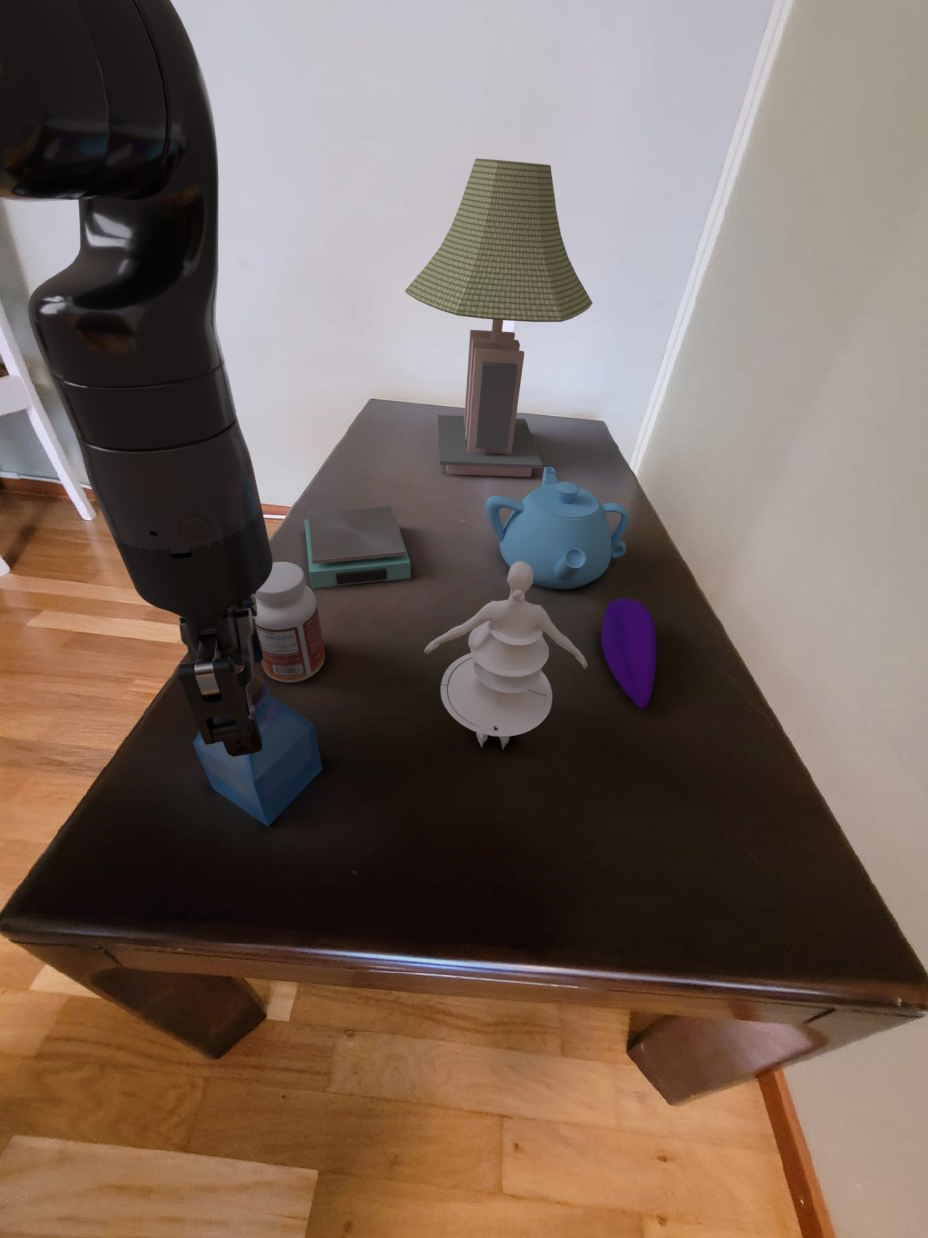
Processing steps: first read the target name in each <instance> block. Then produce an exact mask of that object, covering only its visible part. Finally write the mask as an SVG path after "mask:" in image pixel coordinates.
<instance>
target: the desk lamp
mask: <svg viewBox="0 0 928 1238" xmlns="http://www.w3.org/2000/svg"><path fill="white" fill-rule="evenodd" d="M464 188H465V189H464V192H463V194H462V198H461V201H460V204H459V206H458V208H457V210H456V214H455V216H454V217H453V221H452V223H451V226H450V228H449V230H448V232H447V233H446V235H445V237H444V239H443V240H442V243H441V244H440V245H439V248H438V249H437V250H436V252H435V253H434V254H433V256H432V257H431V259H430V260H429V261H428V262H427V264H426V265H425V266H424V267H423V268H422V270H421V271H420V272H419V274H417V275H416V277H415V278H414V279H413V280H412V282H410V284H409V285H408V286H407V287H406V289H405V290H404V292H405V293H406V294H407V295H409V296H410V297H412V298H413V299H415V300H416V301H418V302H420V303H422V304H425V305H427V306H429V307H431V308H434V309H437V310H438V311H441V312H445V313H448V314H451V315H455V316H457V317H458V316H459V317H466V318H475V319H483V320H492V324H491V326H492V327H491V330H481V329H469V339H468V340H469V342H468V343H469V344H468V354H467V355H468V356H467V357H468V358H467V372H466V386H465V389H466V390H465V399H464V416H463V415H447V414H446V415H445V414H437V433H438V451H439V453H438V454H439V465H440V466H446V474H447V475H460V476H461V475H462V476H463V475H465V476H489V477H491V476H493V477H494V476H496V477H517V478H518V477H519V478H532V472H533V469H540V470H541V469H543V468H544V467H543V466H544V464H543V462H542V458H541V457H540V454H539V451H538V448H537V446H536V443H535V440H534V439H533V435H532V432H531V430H530V427H529V425H528V422H527V420H526V418H517V414H518V406H519V398H520V390H521V384H522V376H523V368H524V359H525V351H524V350H520V347H521V343H520V342H519V341H520V340H519V339H516V338H515V337H516V333H515V332H514V331H503V326H504V321H511V322H527V323H528V322H529V323H562V322H565V321H569V320H571V319H574V318H576V317H577V316H579V315H581V314H584V313H585V312H587V311H588V310H589V309H590V308H591V307H592V305H593V301H592V299H591V297H590V296H589V293H588V292H587V290H586V289H585V286H584V285H583V283H582V282H581V279H580V278H579V277H578V275H577V273H576V270H575V268H574V266H573V265H572V262H571V260H570V258H569V255H568V252H567V248H566V246H565V242H564V241H563V240H564V239H563V237H562V233H561V228H560V227H561V226H560V222H559V216H558V212H557V204H556V196H555V189H554V180H553V174H552V166H551V165H550V164H545V163H534V162H525V161H524V162H523V161H512V160H502V159H492V158H491V159H489V158H488V159H487V158H475V159H474V162H473V164H472V168H471V171H470V174H469V177H468V180H467V183H466V185H465V187H464Z"/></svg>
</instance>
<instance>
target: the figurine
mask: <svg viewBox="0 0 928 1238" xmlns="http://www.w3.org/2000/svg"><path fill="white" fill-rule="evenodd" d="M506 583H507V584H508V585H509V588H510V592H509V597H508V599H504V600H490V602H488V603H486V604H484V606H482V608H480V610H479V611H478V612H477V613H476V614H474V615H473V616H472V617H471V618H469V619H468V620H466V621H465V622H464V623H461V624H460V625H457V626H454V627H452V628H451V629H449V630H448V631H446V632H445V633H443V634H442V635H440V636H437V637H436V638H434V640H431V641H430V642H429V643H428V644H427V645H425V646H426V647H425V648H424V651H423V653H426V655H429V654H430V653H431V652H432V651H434V650H436V649H437V648H438V647H439V646H440V644H442V643H446V642H448V641H451V640H455V639H457V638H460V637H462V636H464V635H466V634H467V633H469V632H470V634H469V636H468V639H467V640H468V641H467V646H468V647H469V649H470V653H466V654H465V655H462V656H461V657H458V658H457V659H456V660H454V661H453V662H452V663H451V664H450V665H448V667H447V668H446V669H445V671H444V673H443V676H442V678H441V682H440V698H441V701H442V703H443V706H444V708H445V709H446V711H447V712H448V713H449V715H450V716H451V717H452V718H453V719H454V720H455V721H457V722H458V723H459V724H460V725H462V726H463V727H465V728H467V729H468V730H471V731H472V732H475V733H476V738H477V740H478V742H479V744H480V748H483V746H484V743H485V742H486V741H487V740H488V738H489V737H488V736H491V737H498V738H499V740H500V744H501V749H502V750H504V749H505V747H506V745H507V744H508V743H509V741H510V737H512V736H513V737H514V736H518V735H522V734H525V733H527V732H529V731H531V730H533V729H535V728H536V727H538V726H539V725H541V724H542V723H543V722H544V720H545V719H546V718H547V717H548V715H549V714H550V712H551V709H552V704H553V690H552V687H551V684H550V681H549V679H548V677H547V676H546V675H545V673H544V672H543V670H542V668H543V667H544V666H545V664H546V663H547V661H548V659H549V656H550V649H549V645H548V644H547V642H546V640H545V638H544V636H543V634H544V633H545V634H546V635H547V636H549V637H550V638H551V639H552V640H553V641H554V642H555V643H556V644H557V645H558V646H559V647H561V648H562V649H564V650H565V651H567V652H568V653H571V654H572V655H574V659H576V660H577V661H578V663H580V664H581V666H582V668H583V669H586V668H588V663H587V660H586V658H585V656H584V655H583V654H582V652H581V650H579V649H578V648H577V647H576V645H574V644H573V642H572V641H571V640H570V638H569V637H567V636H566V635H564V634H563V633H562V632H560V630H559V629H558V628H557V627H556V625H555V624H554V623H553V621H552V620H551V618H550V616H549V615H548V612H547V611H546V609H544V608H543V606H542V605H540V604H535V603H530V602H528V601H527V600H526V592H528V591H529V590H530V589H531V586H533V585H534V584H533V570H532V568H531V567H530V566H529V565H528V564H526V563H525V562H523V561H518V562H516V563H514V564H512V566H511V568H510V567H509V571H508V573H507V577H506ZM495 728H496V729H495Z"/></svg>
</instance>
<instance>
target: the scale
mask: <svg viewBox="0 0 928 1238" xmlns="http://www.w3.org/2000/svg"><path fill="white" fill-rule="evenodd" d="M393 514H394V517H395V520H396V523H397V527H398V530H399V533H400V536H401V539H402V542H403V545H404V548H405V551H406V555H405V556H394V557H384V558H373V559H362V560H352V561H341V562H331V563H320V564H313V563H312V554H311V544H310V534H309V524H308V518H306V519H304V529H305V540H306V541H305V543H306V551H307V562H308V563H307V564H308V572H309V580H310V586H311V590H313V589H321V588H331V587H340V586H351V585H358V584H359V585H360V584H369V583H377V582H378V583H379V582H388V581H398V580H405V579H406V580H407V579H408V580H409V579H411V560H410V557H409V553H408V551H407V547H406V544H405V541H404V539H403V536H402V532H401V529H400V526H399V523H398V520H397V517H396V514H395V512H393Z"/></svg>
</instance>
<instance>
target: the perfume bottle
mask: <svg viewBox="0 0 928 1238" xmlns="http://www.w3.org/2000/svg"><path fill="white" fill-rule="evenodd" d="M235 667H236V670H237V671H238V670H242V668H243V665H239V666H235ZM250 691H251V697H252V704H253V706H254V707H255V717H256V720H257V723H258V727H259V730H260V733H261V736H262V749H261V750H260V751H259V752H256V753H253V754H247V755H242V756H236V757H232V756H230V755H228V754H227V751H226V749H225V746H224V744H223V741H222V742H217V743H215V744H209V745H205V743H204V741H203V739H202V736H201V733H200V731H199V732H198V733H197V736H196V738H195V739H194V741H193V742H192V744H193V747H194V750H195V751H196V754H197V756H198V758H199V761H200V763H201V765H202V767H203V769H204V772H205V774H206V777H207V778H208V781H209V784H210V785H211V788H212V789H213V790H214V791H216V792H217V793H219V794H220V795H221V796H223V797H224V798H226V799H227V800H229V801H230V802H231V803H233V804H234V805H236V806H237V807H239V808H240V809H242V810H243V811H244V812H246V813H247V814H248V815H250V816H252V817H253V818H254V819H256V820H257V821H259V822H260V823H262V824H263V825H265V826H266V827H270V825H271V824H272V823H273V822H274V821H275V820H276V819H277V818H278V817H279V816H280V815H281V814H282V813H283V812H284V810H286V809H287V807H288V806H289V805H290V804H291V803H292V802H293V801H294V799H296V798H297V797H298V796H299V795H300V794H301V793H302V791H303V790H305V788H306V787H307V786H308V785H309V784H310V783H311V782H312V781H313V779H315V778H316V777H317V775H318V774H319V773H320V772H321V771H322V770H323V766H322V760H321V755H320V750H319V743H318V740H317V734H316V733H317V732H316V729H315V728H316V727H315V724H314V723H313V722H312V721H310V720H308V719H306V718H305V717H304V716H303V715H301V714H299V713H298V712H297V711H295V710H293V708H291V707H290V706H287V705H286V704H284V703H282V702H281V701H279V700H277V699H275V698H273V697H272V696H271V694H270V689H269V687H268V685H267V682H265V681H264V676H263V674H262V672H261V671H260V670H259V669H258V668H256V677H255V678H254V680H253V681H252V682H251V683H250Z"/></svg>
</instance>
